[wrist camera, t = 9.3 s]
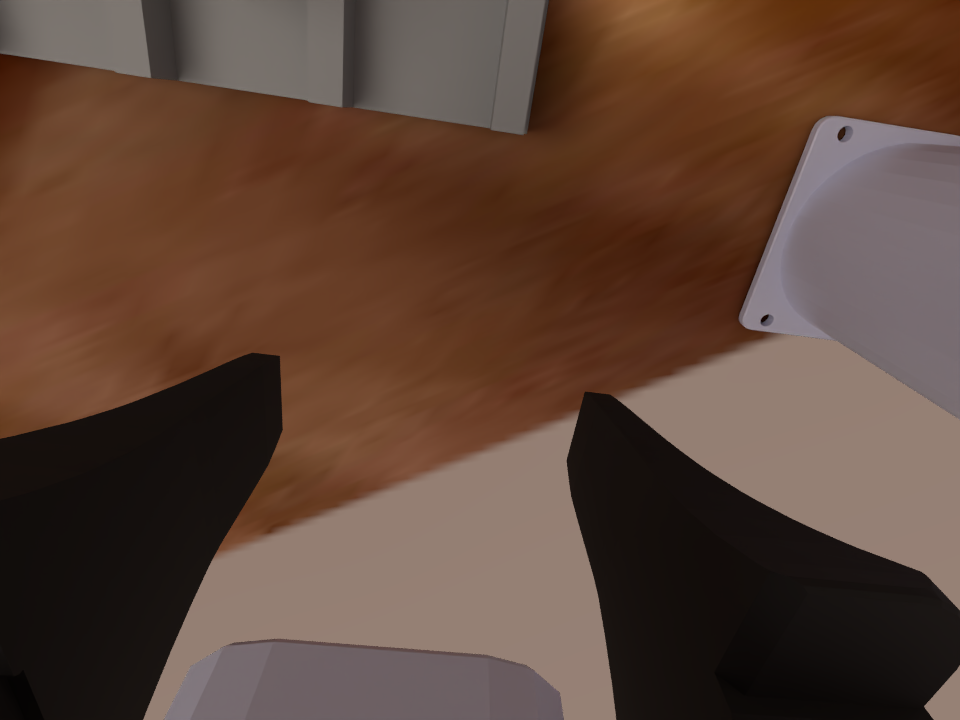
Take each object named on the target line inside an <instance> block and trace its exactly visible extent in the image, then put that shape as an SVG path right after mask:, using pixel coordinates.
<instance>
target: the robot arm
mask: <svg viewBox="0 0 960 720" xmlns="http://www.w3.org/2000/svg"><path fill="white" fill-rule="evenodd" d="M843 127H845V129H846V132H845V136H844V137H843V138H842V139H841V140H840V141H839V140H838V138H837V136H838V132H839V131H840V129H841V128H843ZM767 314H769V316H768V319H767V320H766V321H764V322H761V319H762V317H763V316H765V315H767ZM739 321H740V323H741V324H742V325H743V326H744V327H745V328H747V329H750V330H758V331H765V332H773V333H781V334H788V335H796V336H804V337H812V338H819V339H827V340H835V341H838V342H840V343H841V344H843V345H844V346H846V347H847V348H849V349H851V350H852V351H854V352H855V353H857V354H858V355H860V356H861V357H863V358H865V359H866V360H868V361H869V362H871V363H872V364H874V365H876V366H877V367H879V368H880V369H882V370H883V371H885V372H886V373H888V374H889V375H891V376H893V377H894V378H896V379H897V380H899V381H900V382H902V383H903V384H905V385H907V386H908V387H910V388H911V389H913V390H914V391H916V392H918V393H919V394H921V395H922V396H924V397H925V398H927V399H928V400H930V401H931V402H933V403H935V404H936V405H938V406H939V407H941V408H943V409H944V410H946V411H947V412H949V413H950V414H952V415H954V416H955V417H956V418H958V419H960V136H957V135H951V134H945V133H939V132H933V131H926V130H920V129H914V128H908V127H902V126H896V125H890V124H883V123H877V122H871V121H865V120H859V119H853V118H847V117H841V116H825V117H823V118H821V119H820V120H819V121H818V122H817V123H815V125H814V127H813V129H812V131H811V133H810V136H809V138H808V141H807V144H806V146H805V149H804V151H803V154H802V156H801V159H800V161H799V164H798V166H797V169H796V172H795V174H794V177H793V179H792V182H791V184H790V187H789V189H788V192H787V195H786V197H785V200H784V202H783V205H782V207H781V210H780V212H779V215H778V218H777V220H776V223H775V225H774V228H773V230H772V233H771V235H770V238H769V240H768V243H767V246H766V248H765V251H764V253H763V256H762V258H761V261H760V263H759V266H758V269H757V271H756V274H755V276H754V279H753V281H752V284H751V286H750V289H749V291H748V294H747V297H746V299H745V302H744V304H743V307H742V309H741V312H740V315H739ZM760 322H761V323H760ZM282 430H283V427H282V402H281V377H280V356H276V355H267V354H259V353H251V354H247V355H244V356H242V357H239V358H237V359H234V360H232V361H230V362H227V363H225V364H223V365H221V366H218V367H216V368H214V369H212V370H209V371H207V372H205V373H203V374H200V375H198V376H196V377H194V378H191V379H189V380H187V381H184V382H182V383H180V384H177V385H175V386H172V387H170V388H167V389H165V390H162V391H160V392H157V393H155V394H152V395H150V396H147V397H145V398H142V399H140V400H137V401H135V402H132V403H129V404H126V405H124V406H121V407H118V408H115V409H112V410H109V411H105V412H102V413H99V414H96V415H92V416H89V417H86V418H83V419H79V420H76V421H72V422H69V423H65V424H61V425H56V426H52V427H48V428H44V429H40V430H36V431H32V432H28V433H24V434H20V435H16V436H12V437H7V438H2V439H0V720H143V719H144V716H145V713H146V711H147V708H148V705H149V703H150V701H151V698H152V696H153V693H154V691H155V689H156V686H157V684H158V681H159V679H160V676H161V674H162V671H163V669H164V666H165V664H166V662H167V659H168V657H169V654H170V651H171V649H172V647H173V645H174V643H175V640H176V638H177V636H178V633H179V631H180V629H181V627H182V624H183V622H184V620H185V617H186V615H187V613H188V611H189V608H190V606H191V604H192V602H193V599H194V597H195V595H196V593H197V591H198V589H199V587H200V584H201V582H202V580H203V578H204V575H205V574H206V571H207V569H208V567H209V565H210V563H211V561H212V559H213V557H214V556H215V554H216V552H217V550H218V548H219V546H220V544H221V543H222V541H223V539H224V538H225V536H226V535H227V533H228V531H229V530H230V528H231V526H232V525H233V523H234V521H235V520H236V518H237V516H238V515H239V513H240V511H241V510H242V508H243V506H244V505H245V503H246V501H247V500H248V498H249V497H250V495H251V493H252V492H253V490H254V488H255V487H256V485H257V483H258V481H259V480H260V478H261V476H262V475H263V473H264V471H265V470H266V468H267V466H268V464H269V462H270V459H271V457H272V455H273V453H274V450H275V448H276V445H277V443H278V440H279V438H280V435H281V433H282ZM567 467H568V476H569V484H570V491H571V497H572V501H573V505H574V508H575V512H576V516H577V519H578V523H579V526H580V530H581V533H582V537H583V541H584V544H585V547H586V551H587V555H588V558H589V562H590V565H591V569H592V572H593V576H594V580H595V584H596V588H597V592H598V597H599V603H600V609H601V614H602V620H603V627H604V632H605V639H606V645H607V652H608V659H609V666H610V673H611V679H612V687H613V695H614V703H615V711H616V720H933V718H932V717H931V716H930V714H929V713H928V712H927V711H926V709H925V708H924V705H926V703H927V702H928V701H929V700H930V699H931V698H932V697H933V695H934V694H935V693H936V692H937V691H938V690H939V689H940V688H941V687H942V685H943V684H944V683H945V682H946V681H947V680H948V679H949V678H950V676H951V675H952V674H953V673H954V672H955V671H956V670H957V668H958V667H959V665H960V610H959V609H958V608H957V607H956V606H955V605H954V604H953V603H952V602H951V601H950V600H949V599H948V598H947V597H946V595H944V593H943V592H941V590H940V589H939V588H938V587H937V586H936V585H935V584H934V583H933V582H932V581H931V580H930V579H929V578H928V577H927V576H926V575H925V574H923V573H922V572H920V571H918V570H915V569H912V568H909V567H907V566H904V565H902V564H899V563H896V562H894V561H891V560H888V559H886V558H883V557H880V556H878V555H875V554H872V553H870V552H867V551H864V550H861V549H859V548H856V547H854V546H851V545H849V544H846V543H844V542H842V541H840V540H837V539H835V538H833V537H830V536H828V535H826V534H824V533H821V532H819V531H817V530H815V529H812V528H810V527H808V526H806V525H803V524H802V523H799V522H798V521H795V520H793V519H791V518H789V517H787V516H785V515H783V514H781V513H780V512H778V511H776V510H774V509H772V508H770V507H768V506H766V505H764V504H763V503H761V502H759V501H757V500H755V499H753V498H751V497H750V496H748V495H746V494H745V493H743V492H741V491H739V490H738V489H736V488H735V487H733V486H731V485H730V484H728V483H727V482H725V481H723V480H722V479H720V478H719V477H717V476H715V475H714V474H712V473H711V472H709V471H708V470H706V469H705V468H703V467H702V466H700V465H699V464H698V463H696V462H695V461H694V460H692V459H691V458H689V457H688V456H687V455H685V454H684V453H683V452H681V451H680V450H679V449H677V448H676V447H675V446H674V445H672V444H671V443H670V442H668V441H667V440H666V439H665V438H663V437H662V436H661V435H660V434H658V433H657V432H656V431H655V430H654V429H652V428H651V427H650V426H649V425H648V424H646V423H645V422H644V421H643V420H642V419H640V418H639V417H638V416H637V415H636V414H634V413H633V412H632V411H631V410H630V409H628V408H627V407H626V406H624V405H623V404H622V403H621V402H620V401H618V400H617V399H616V398H614V397H613V396H611V395H609V394H601V393H592V392H585V393H584V397H583V401H582V405H581V408H580V412H579V416H578V420H577V424H576V427H575V431H574V435H573V439H572V442H571V446H570V450H569V454H568V457H567ZM164 720H564V718H563V712H562V704H561V697H560V693H559V692H558V691H557V690H556V689H555V688H554V687H552V686H551V685H550V684H549V683H548V682H547V681H546V680H544V679H543V678H542V677H541V676H540V675H539V674H537V673H536V672H535V671H534V670H533V669H531V668H530V667H528V666H527V665H523V664H519V663H516V662H512V661H508V660H504V659H500V658H496V657H493V656H488V655H481V654H468V653H454V652H441V651H429V650H415V649H403V648H390V647H378V646H364V645H350V644H339V643H325V642H313V641H299V640H287V639H270V640H259V641H248V642H237V643H232V644H229V645H226V646H224V647H222V648H220V649H219V650H217V651H215V652H214V653H212V654H210V655H209V656H207V657H205V658H204V659H202V660H200V661H199V662H197V663H195V664H193V665H192V666H191V667H190V669H189V671H188V673H187V675H186V677H185V679H184V681H183V683H182V685H181V687H180V689H179V690H178V693H177V694H176V696H175V698H174V700H173V702H172V704H171V706H170V708H169V710H168V712H167V714H166V716H165V718H164Z"/></svg>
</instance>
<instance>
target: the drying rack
mask: <svg viewBox="0 0 960 720" xmlns="http://www.w3.org/2000/svg"><path fill="white" fill-rule="evenodd" d="M548 3H549V0H0V53H2V54H9V55H15V56H22V57H28V58H35V59H41V60H48V61H54V62H61V63H67V64H74V65H81V66H87V67H94V68H100V69H107V70H113V71H115V73H122V74H128V75H135V76H141V77H148V78H157V79H168V80H178V81H185V82H191V83H198V84H204V85H211V86H218V87H224V88H231V89H237V90H244V91H250V92H257V93H263V94H270V95H276V96H283V97H289V98H296V99H302V100H308V102H311V103H318V104H324V105H331V106H337V107H355V108H361V109H368V110H374V111H381V112H387V113H394V114H400V115H407V116H413V117H420V118H426V119H433V120H439V121H446V122H452V123H459V124H465V125H472V126H479V127H485V128H490V129H491V130H494V131H501V132H507V133H514V134H520V135H524V134H527V130H528V124H529V118H530V112H531V106H532V100H533V94H534V88H535V82H536V76H537V70H538V64H539V57H540V51H541V45H542V39H543V33H544V27H545V21H546V15H547V9H548Z"/></svg>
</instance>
